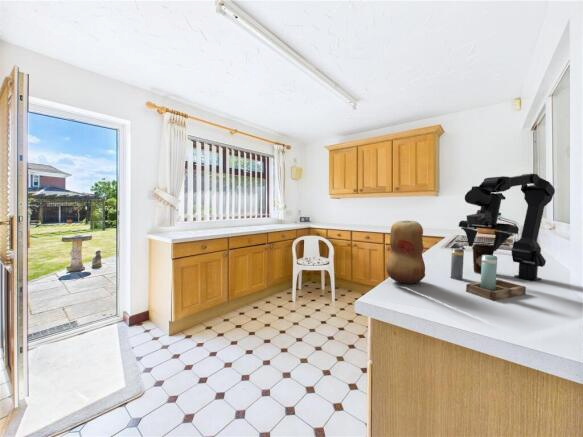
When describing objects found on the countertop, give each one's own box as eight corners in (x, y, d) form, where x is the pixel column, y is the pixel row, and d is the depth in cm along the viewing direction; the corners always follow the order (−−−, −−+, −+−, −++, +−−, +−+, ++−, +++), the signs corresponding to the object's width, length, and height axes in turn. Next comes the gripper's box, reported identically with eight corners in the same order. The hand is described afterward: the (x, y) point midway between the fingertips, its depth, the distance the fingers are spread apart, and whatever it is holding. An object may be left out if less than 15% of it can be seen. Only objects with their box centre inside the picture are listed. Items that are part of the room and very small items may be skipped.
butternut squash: (383, 286, 94) (385, 221, 92) (387, 276, 106) (389, 218, 104) (425, 292, 87) (427, 222, 86) (424, 281, 99) (426, 220, 98)
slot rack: (496, 288, 92) (497, 279, 91) (526, 297, 83) (527, 286, 83) (464, 294, 86) (465, 284, 86) (493, 304, 77) (493, 293, 77)
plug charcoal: (455, 278, 103) (456, 248, 102) (464, 281, 99) (466, 249, 99) (448, 279, 102) (449, 248, 101) (457, 282, 98) (459, 250, 97)
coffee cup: (499, 275, 107) (501, 246, 106) (480, 275, 108) (481, 246, 107) (484, 270, 116) (485, 242, 115) (466, 270, 116) (467, 242, 115)
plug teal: (485, 291, 86) (487, 254, 85) (498, 295, 82) (500, 257, 81) (477, 292, 84) (478, 255, 84) (490, 297, 81) (492, 257, 80)
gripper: (452, 204, 102) (444, 241, 102) (501, 205, 84) (492, 249, 84) (472, 209, 105) (464, 245, 105) (523, 211, 87) (514, 254, 87)
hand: (481, 248), depth 95 cm, fingers open, 9 cm apart
